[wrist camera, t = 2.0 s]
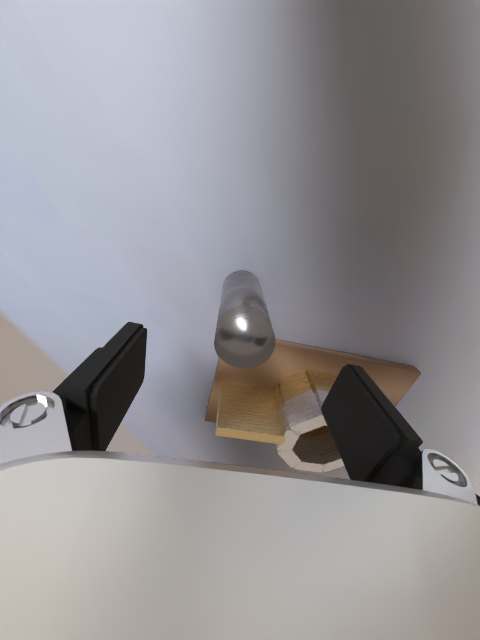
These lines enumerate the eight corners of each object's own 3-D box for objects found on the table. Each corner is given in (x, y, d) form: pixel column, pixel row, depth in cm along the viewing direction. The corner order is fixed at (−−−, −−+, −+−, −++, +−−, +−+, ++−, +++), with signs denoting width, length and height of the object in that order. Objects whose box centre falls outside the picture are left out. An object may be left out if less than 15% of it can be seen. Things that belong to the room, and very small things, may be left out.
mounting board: (225, 329, 20) (225, 335, 19) (414, 366, 22) (421, 373, 21) (206, 413, 25) (204, 420, 24) (361, 436, 27) (365, 443, 26)
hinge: (228, 354, 20) (225, 398, 15) (404, 386, 22) (446, 433, 17) (213, 409, 23) (208, 458, 19) (368, 432, 25) (396, 482, 21)
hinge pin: (227, 266, 17) (220, 311, 10) (264, 275, 17) (283, 324, 10) (219, 301, 18) (209, 362, 11) (254, 309, 19) (265, 372, 12)
